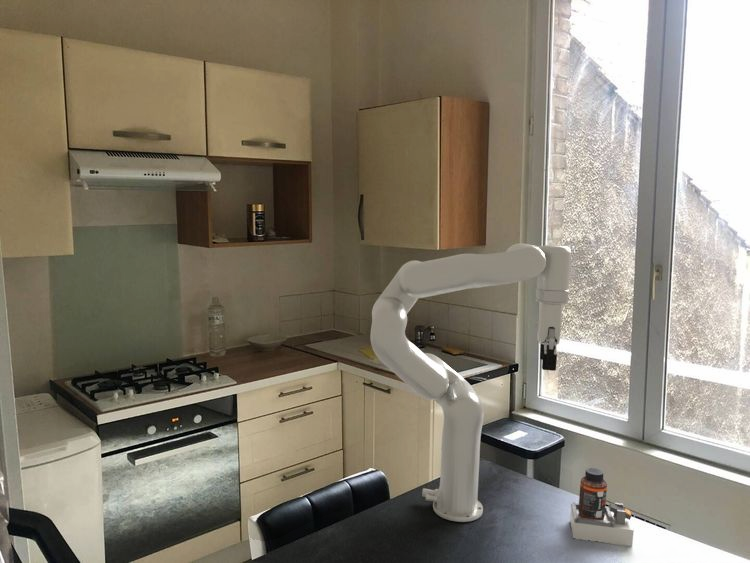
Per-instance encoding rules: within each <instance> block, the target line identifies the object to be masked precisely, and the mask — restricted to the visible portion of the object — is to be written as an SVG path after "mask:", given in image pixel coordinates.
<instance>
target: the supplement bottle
mask: <svg viewBox="0 0 750 563" xmlns="http://www.w3.org/2000/svg"><path fill="white" fill-rule="evenodd" d="M607 488H608V484H607V482H606V480H605V479H604V470H601V469H600V468H597V467H587V468H586V469H585V473H584V475H583V477H581V479H580V485H579V498H578V503H579V514H580V516H581V517H583V518H588V519H595V520H602V519H604V515H605V506H606V502H607V491H608V489H607Z"/></svg>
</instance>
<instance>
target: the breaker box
mask: <svg viewBox="0 0 750 563" xmlns="http://www.w3.org/2000/svg"><path fill="white" fill-rule="evenodd" d="M613 504H614V505H616V506H618V507H621V508H623V509H624V504H623V503H621V502H614V503H613ZM625 516H626V511H624V510H617V514H616V513H613V512H611V511H610V510H609V507H608V506H606V505H605V515H604V519H602V520H595V519H588V518H583V517H581V516H580V514H579V502H571V504H570V517H569V523H571V524H570V527H571V528H570V529H571V533H572V538H576V539H575V540H580V539H582V540H583V541H588V540H590V542H595V541H598V542H597V543H603V542H604V543H605V544H609V545H611V544H612V545H619V546H626V547H633V544H634V543H633V541H634V531H635V530H634V528H633V525H632V523H631V519H630V520H629V519H627V518H625ZM582 540H581V541H582Z"/></svg>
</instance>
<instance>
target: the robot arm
mask: <svg viewBox="0 0 750 563" xmlns="http://www.w3.org/2000/svg"><path fill="white" fill-rule="evenodd" d="M571 260H572V251H571V248H570V247H568V246H566V245H555V244H546V245H533V244H529V243H525V242H524V243H523V242H522V243H521V242H520V243H519V242H518V243H515V244H513V245H511V246H509V247H508V248H506V251H503V252H502V251H501V252H496V253H495V252H494V253H486V254H485V253H477V254H476V253H460V254H455V255H450V256H446V257H440V258H435V259H430V260H426V261H421V260H409V261H407V262H405V263H404V264H403V265H402V266H401V267H400V268H399V269H398V271H397V272H396V274H395V275H394V277H393V278H392V279H391V281H390V282H389V284H388V285H386V287H385V289H384V290H383V291H382V292H381V294H380V295H379V297H378V298H377V299H376V301H375V303H374V304H373V306H372V310H371V319H372V320H371V327H370V336H369V337H370V345H371V348H372V350H373V352H374V354H375V356H376V357H377V359H378V360H379V361H380V362H381V363H382V364H383V365H385V366H386V368H388V369H389V370H390V371H391V372H393V373H394V374H395V375H396V377H398V378H399V379H400V380H402V381H403V383H404V384H406V385H407V386H408V387H409V388H411V389H412V390H413V391H414V392H415V393H416V394H417V395H418V396H419V397H422V398H423V399H426V400H430V401H434V402H436V404H438V405H439V406H440V407H441V410H442V413H443V424H442V425H443V426H442V435H441V448H440V449H441V455H440V456H441V457H440V476H439V478H440V479H439V488H435V489H429V488H422V492H421V494H422V495H421V496H422V497H425V501H429V502H430V501H431V502H433V503H432V508H433V511H434V512H435V514H436V515H437V516H439V517H441V518H442V519H445V520H448V521H452V522H458V523H467V522H468V523H469V522H472V521H475V520H478V519H479V518H481V517H482V516H483V513H484V506H483V504H482V503H481V502H480V501H479V500H478V494H479V493H478V492H479V475H480V473H479V472H480V454H481V452H480V451H481V436H482V428H483V424H484V417H485V416H484V406H483V404H482V400H481V398H480V397H479V395H478V394H477V392H476V390H475V389H474V388H473V386H472V385H471V384H470V383H469V382H468V381H467V380H466V379H465V378H463V376H462V375H460V373H458V372H457V371H455V370H454V369H453V368H452V367H450V366H449V365H448V364H447V363H446V362H444V360H442V359H441V358H440V357H438V356H437V355H435V354H433V353H429V352H423V351H422V350H421V349H420V348H419V347H417V346H416V344H414V343H413V342H411V341H410V340H409V339H408V337H407V335H406V327H407V324H408V316H407V315H408V313H409V312H410V311H411V309H412V308H413V307H414V305H415V304H416V302H418V300H419V299H423V298H429V297H433V296H439V295H442V294H447V293H452V292H453V293H454V292H457V291H462V290H468V289H478V288H479V289H480V288H484V287H495V286H502V285H506V284H507V285H508V284H509V285H510V284H513V283H518V282H523V281H528V280H532V279H535V278H537V279H536V293H535V294H536V295H535V302H536V303H539V307H538V317H537V333H536V338H537V342H538V343H539V344H540V354H539V360H541V361H542V363H541V369H542V371H553V372H554V371H556V370H557V359H558V354H557V346H558V345H559V344H560V340H561V332H562V322H563V321H562V320H563V318H562V317H563V306H564V305H567V304H569V292H570V291H569V290H570V277H571V276H570V275H571V263H572V261H571Z"/></svg>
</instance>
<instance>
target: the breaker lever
mask: <svg viewBox="0 0 750 563" xmlns="http://www.w3.org/2000/svg"><path fill="white" fill-rule="evenodd" d="M614 504H615V503H611V502H609V504H608V506H607V507H609V510H610V511H611V512H613V513H616V514H617V510H624V511H626V516H625V518H627V519H629V520H630V521H631V518H632V513H631V511H630V510H629V509H628V508H624V507H623V508H621V507H618V506H616V505H614Z"/></svg>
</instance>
